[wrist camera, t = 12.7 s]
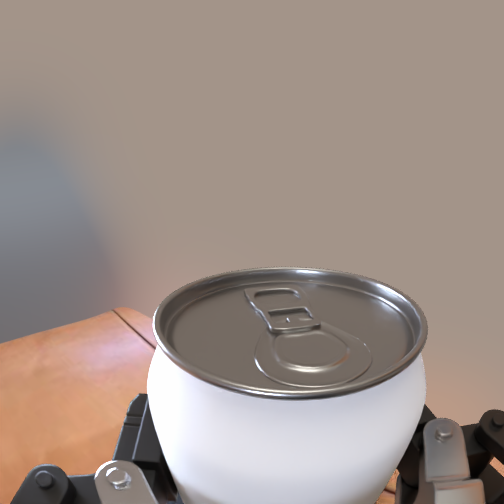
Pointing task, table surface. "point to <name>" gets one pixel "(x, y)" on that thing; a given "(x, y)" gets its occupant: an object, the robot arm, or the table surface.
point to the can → (286, 386)
